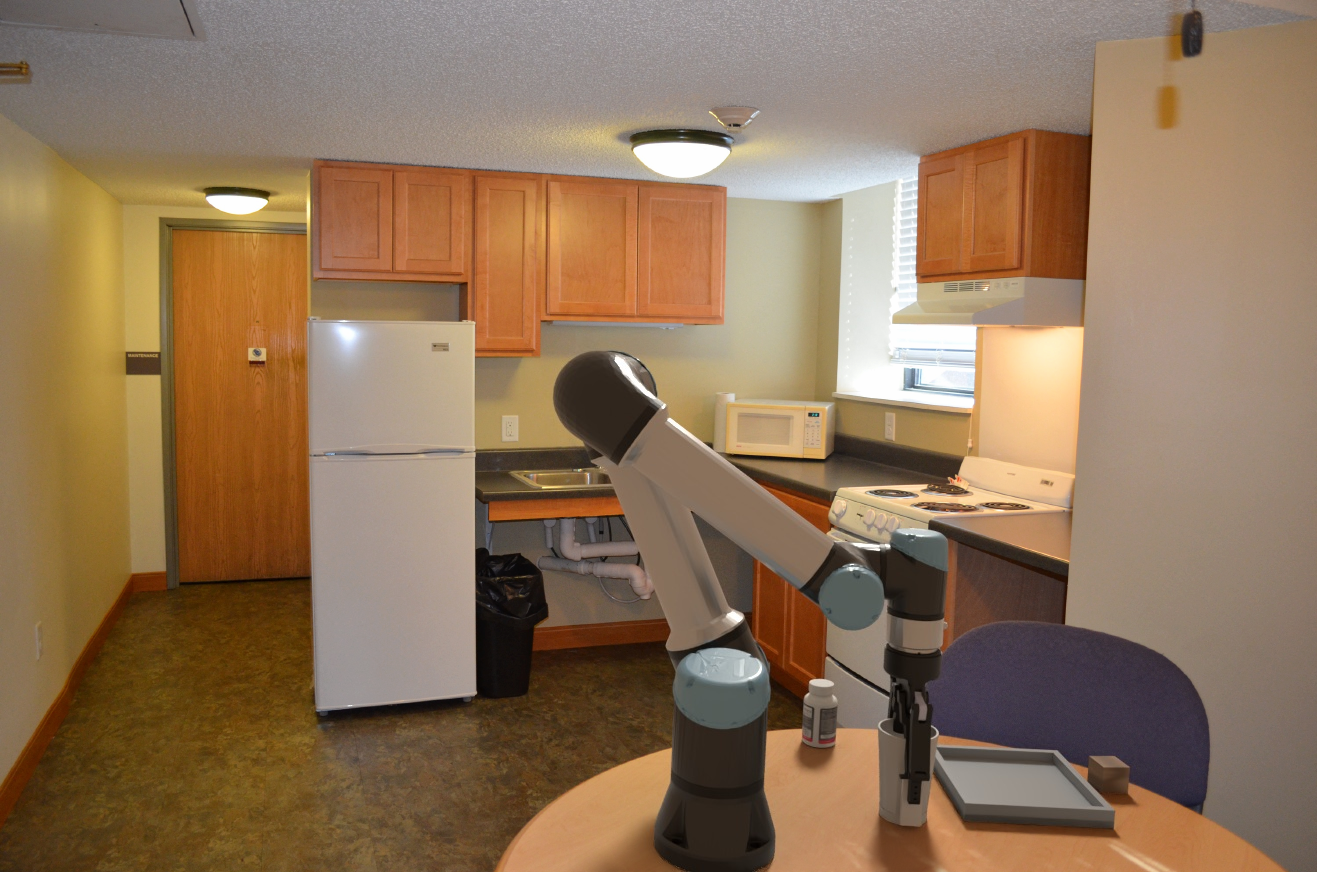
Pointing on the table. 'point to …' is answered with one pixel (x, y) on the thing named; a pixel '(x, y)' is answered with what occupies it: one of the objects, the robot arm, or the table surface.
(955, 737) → the table surface
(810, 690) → the pill bottle
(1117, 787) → the walnut block
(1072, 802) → the tray
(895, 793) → the cup
